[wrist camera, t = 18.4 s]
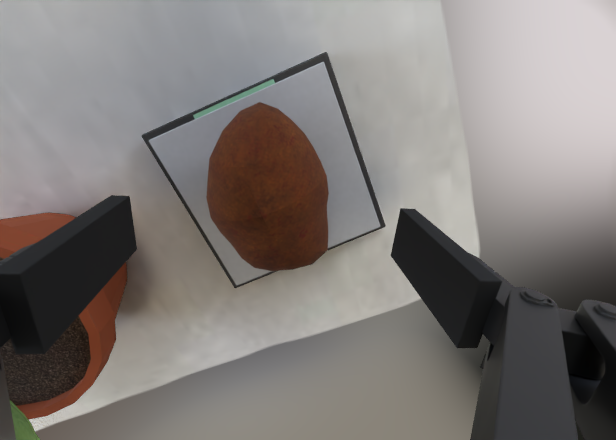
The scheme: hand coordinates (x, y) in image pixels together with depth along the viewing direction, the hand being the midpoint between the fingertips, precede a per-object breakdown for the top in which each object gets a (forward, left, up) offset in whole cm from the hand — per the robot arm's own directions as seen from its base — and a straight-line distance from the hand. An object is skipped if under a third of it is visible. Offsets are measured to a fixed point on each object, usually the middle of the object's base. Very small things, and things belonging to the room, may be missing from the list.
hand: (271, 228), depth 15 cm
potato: (0, 0, -9) cm, 9 cm away
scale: (0, 0, -11) cm, 11 cm away
